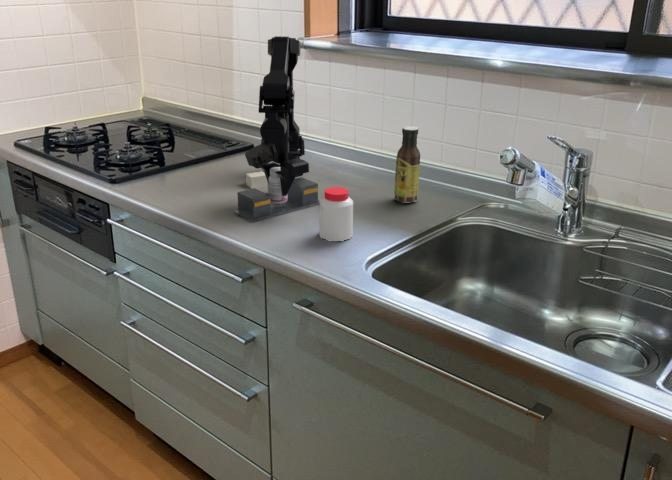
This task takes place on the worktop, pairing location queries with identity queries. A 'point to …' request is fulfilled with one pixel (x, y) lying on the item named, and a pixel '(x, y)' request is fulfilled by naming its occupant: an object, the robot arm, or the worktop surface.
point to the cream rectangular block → (256, 180)
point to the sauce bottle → (407, 167)
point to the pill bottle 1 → (276, 187)
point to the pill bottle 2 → (336, 214)
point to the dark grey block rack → (259, 206)
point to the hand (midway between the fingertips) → (278, 192)
